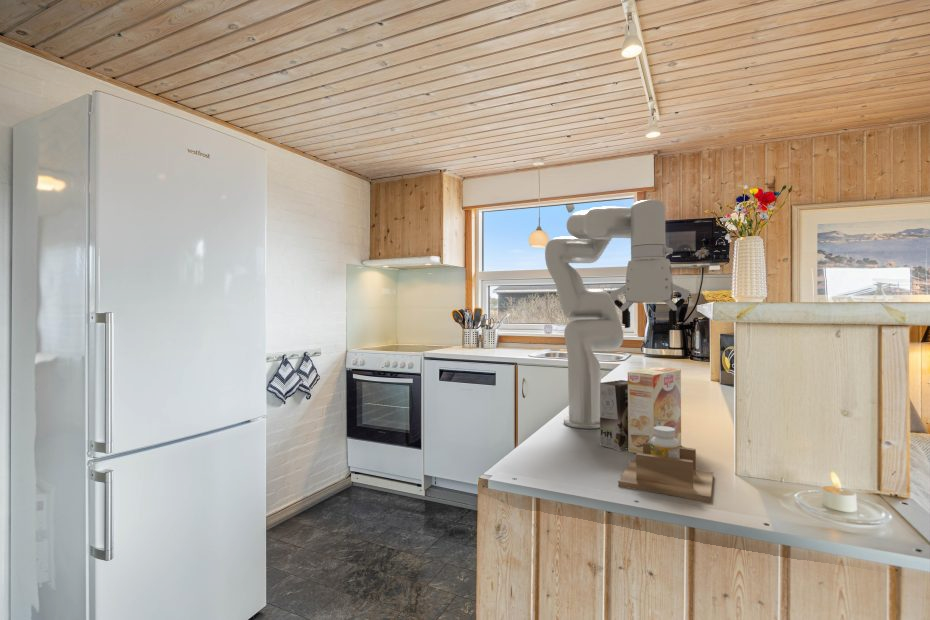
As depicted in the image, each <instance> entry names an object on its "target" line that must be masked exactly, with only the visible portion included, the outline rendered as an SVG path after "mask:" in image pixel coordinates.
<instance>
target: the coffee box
mask: <svg viewBox="0 0 930 620" xmlns="http://www.w3.org/2000/svg"><path fill="white" fill-rule="evenodd" d="M599 437H600V438H599V445H600V446H603V447H606V448H609V449H612V450H615V451H619V452H620V451H621V452H622V451H624V450H628V380H623V379H619V380H613V381H606V382H605V381H603V382H601V383H600V428H599Z"/></svg>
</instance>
